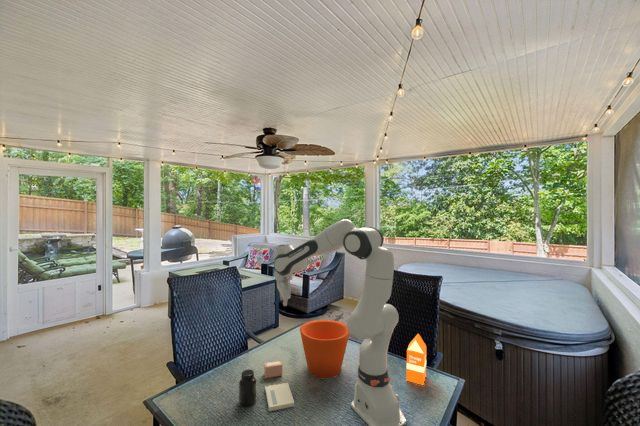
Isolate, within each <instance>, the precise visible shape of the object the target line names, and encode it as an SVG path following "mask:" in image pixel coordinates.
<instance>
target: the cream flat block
mask: <svg viewBox="0 0 640 426" xmlns="http://www.w3.org/2000/svg"><path fill="white" fill-rule="evenodd" d="M264 392H265V396H266V402H267V406H268V408H267V409H268V412H272V411H277V410H282V409H288V408H292V407H295V400H294V398H293V393H292V391H291V388H290V385H289V382H287V381H286V382H281V383H280V382H279V383H275V384H269V385H265V386H264Z"/></svg>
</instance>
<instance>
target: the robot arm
mask: <svg viewBox="0 0 640 426" xmlns="http://www.w3.org/2000/svg"><path fill="white" fill-rule="evenodd" d="M384 239H385V238H384V235H383V233H382V232H381V230H379V229H378V228H375V227H372V226H368V227H367V226H362V227H358V228H357V227H356V225H355V224H354V222H353V221H352V220H350V219H348V218H343V219H340V220H338V221H336V222H333V223H332V224H330V225H329V226H327V227H326V228H324V229H323V230H322V231H320V232H319V233H318V234H316V235H314V236H313V237H311V238H310V239H309V240H307V241H306V242H304V243H302V244H301V245H299V246H296V248H294V246H293V245H292V244H289V243H288V244H280V245H278V246H277V247H276V250H275V257H274V258H275V259H274V261H273V268H274V270H275V271H274V277H275V278H274V280H276V288H277V290H278V293H279V300H280V301H283V302H282V305H283V307H287V306H288V300H289V299H291V297H292V292H291V290H292V289H291V286H292V285H291V281H292V280H293V274H294V273H299V272H302V271H305V270H306V269H307V268H308V265H309V258H311V257H316V256H323V255H327V254H331V253H335V252H336V251H338V250H339V249H342V248H344V250H345V251H346V252H347V253H348V254H349V255H352V256H353V257H356V258H357V259H359V260H365V263H366V265H365V273H364V280H363V281H364V282H363V289H362V291H361V294H360V298H359V300H358V302H357V304H356V306H355V308H354V310H352V313H350V314H349V315H348V317H347V319H346V325H347V329H348V331H349V333H350V334H349V336H351V337H352V338H353V339H355V340H363V341H362V342H361V344H360V346H359V358H358V367H357V381H356V382H355V385H354V397H353V400H352V401H351V403H350V407H351V408H352V410H353V411H354V412H355V413H356V414H357V415H358V416H359V417H360V418H361V419H362V420H363V422H365V423H366V424H367V425H368V426H403V425H404V424H405V423H406V424H407V419H406V416H405V415H404V414H403V412H402V410H401V408H400V404H399V401H400V397H399V394H397V393H395V391H394V387H393V385H391V382H390V380H391V377H390V374H389V370H388V350H389V345H390V341H391V338H392V335H393V332H394V329H395V328H396V326H397V325H398V323H399V319H400V317H399V313H398V310H397V308H396V307H395V306H393V305H392V304H390V303H387V302H388V301H389V300H390V298H391V295H392V288H393V281H394V273H395V272H394V271H395V263H394V261H395V259H394V254H393V252H392V251H391V250H390V249H388V248H386V247H382V246H383V244H384V242H385V240H384ZM400 423H401V424H400ZM406 424H405V425H406ZM405 425H404V426H405Z"/></svg>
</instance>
